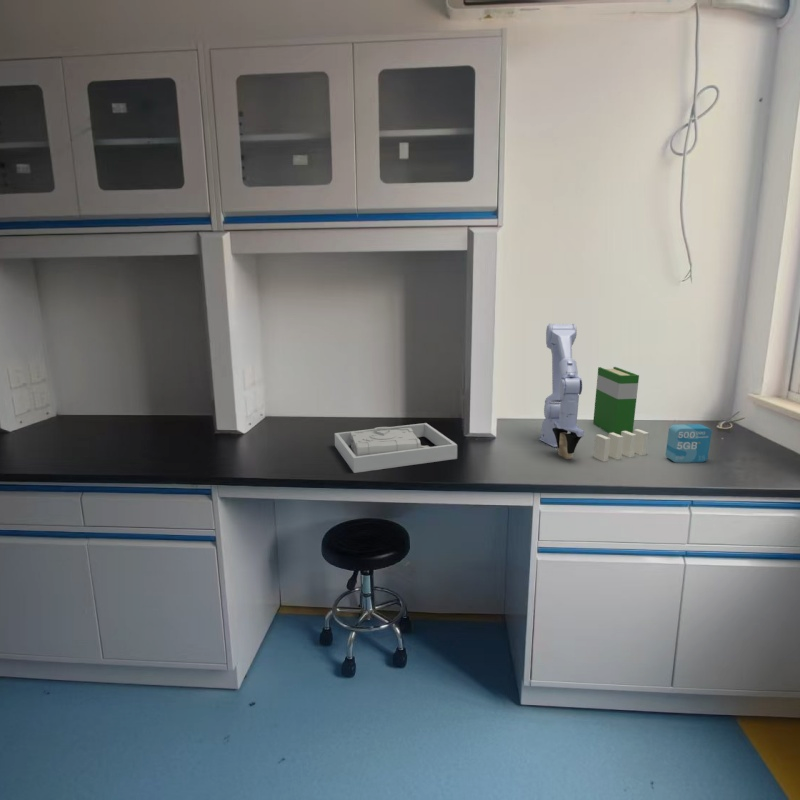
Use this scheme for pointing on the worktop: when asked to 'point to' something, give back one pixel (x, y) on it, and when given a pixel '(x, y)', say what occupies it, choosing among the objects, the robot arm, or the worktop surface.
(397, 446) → the grey case
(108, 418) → the worktop surface
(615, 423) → the hardback book
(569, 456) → the domino
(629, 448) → the domino
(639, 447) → the domino
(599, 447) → the domino
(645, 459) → the worktop surface
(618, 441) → the domino
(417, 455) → the tray
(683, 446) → the data package
